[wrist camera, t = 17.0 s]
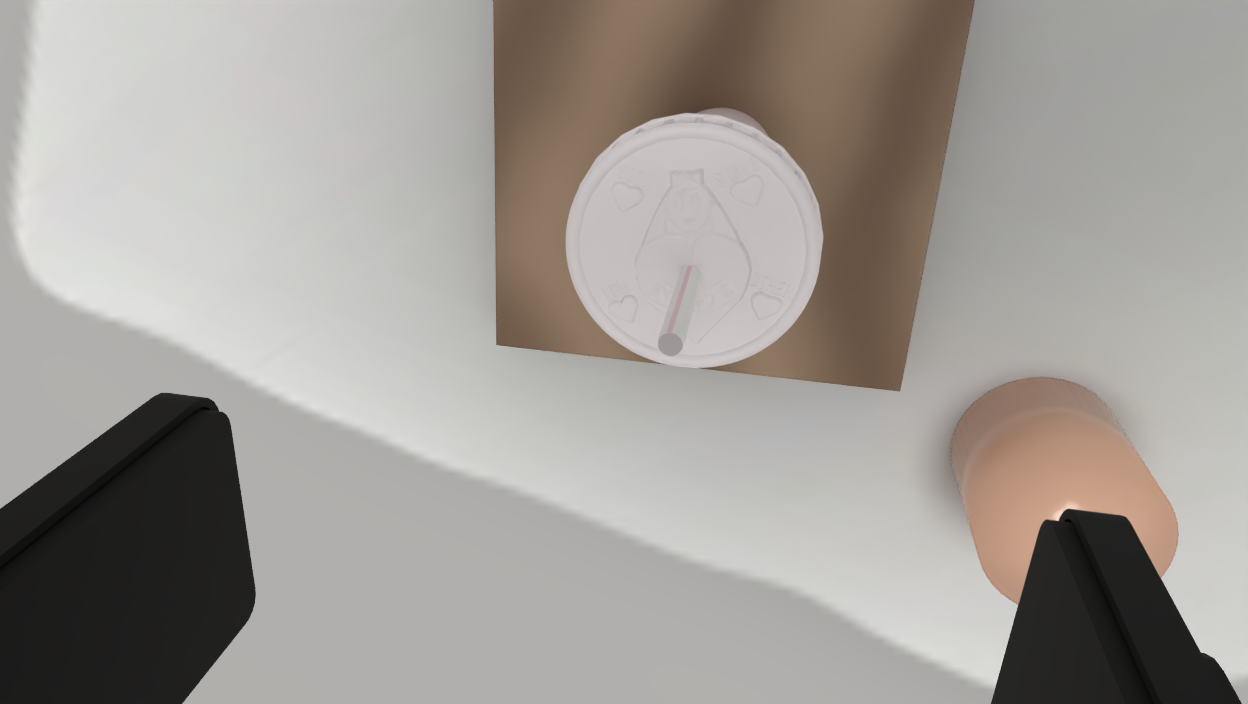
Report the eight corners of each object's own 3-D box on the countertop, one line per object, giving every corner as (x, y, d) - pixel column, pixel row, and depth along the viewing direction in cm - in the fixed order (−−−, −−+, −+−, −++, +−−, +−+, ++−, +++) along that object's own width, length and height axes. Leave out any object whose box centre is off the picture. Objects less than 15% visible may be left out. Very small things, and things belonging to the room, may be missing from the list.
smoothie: (633, 257, 34) (535, 455, 21) (617, 71, 31) (494, 170, 19) (817, 251, 32) (830, 457, 20) (816, 57, 30) (829, 152, 17)
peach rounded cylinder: (1139, 387, 34) (1203, 474, 29) (1096, 525, 37) (1148, 629, 31) (967, 367, 35) (999, 448, 30) (936, 505, 37) (960, 602, 32)
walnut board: (978, -64, 29) (986, -64, 28) (896, 373, 35) (900, 391, 34) (505, -90, 31) (492, -90, 30) (507, 329, 37) (496, 344, 36)
